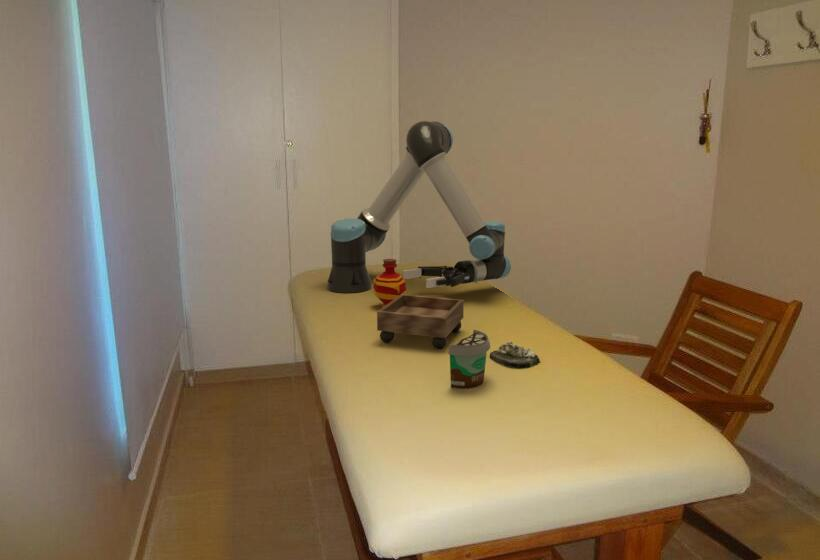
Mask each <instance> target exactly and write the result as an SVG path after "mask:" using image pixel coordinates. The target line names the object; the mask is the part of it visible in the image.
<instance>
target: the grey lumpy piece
mask: <svg viewBox="0 0 820 560" xmlns="http://www.w3.org/2000/svg"><path fill="white" fill-rule="evenodd" d="M489 358H490V359H491V361H493V362H496V363H497V364H500V365H501V366H504V367H506V368H507V367H508V368H512V369H519V370H520V369H521V370H522V369H529V368H533V367H535V366H538V365H539V364H540V363H541V360H540V358H539V356H538V355H537V354H536V353H535V351H534V350H532V349H530V348H524V347H523V346H520V345H519V346H518V344H517V343H513V341H512V340H509V341H507V342H506V343H504V344H501V345H500V346H499V347H498V349H496V350H493V351H491V352H490V353H489Z"/></svg>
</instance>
